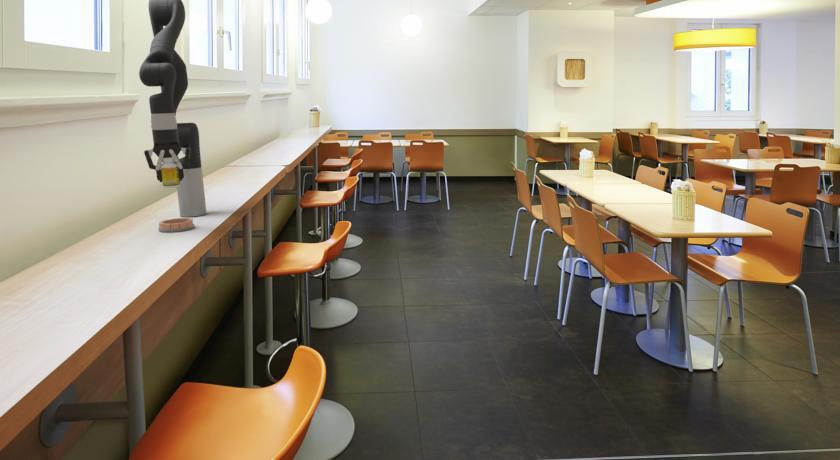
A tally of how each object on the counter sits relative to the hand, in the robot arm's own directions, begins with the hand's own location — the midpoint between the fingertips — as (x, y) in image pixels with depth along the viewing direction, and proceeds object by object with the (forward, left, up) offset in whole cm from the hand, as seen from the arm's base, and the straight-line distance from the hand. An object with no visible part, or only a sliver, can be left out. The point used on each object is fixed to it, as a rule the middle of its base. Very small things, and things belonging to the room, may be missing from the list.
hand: (171, 180), depth 201 cm
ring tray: (0, 0, -16) cm, 16 cm away
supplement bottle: (0, 0, -2) cm, 2 cm away
